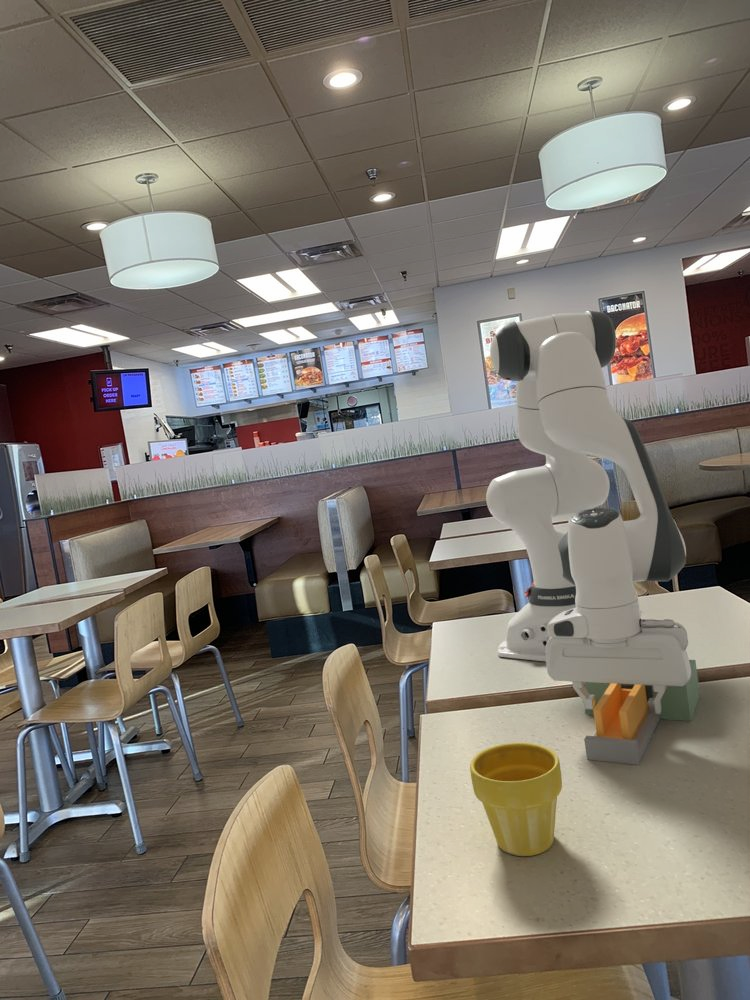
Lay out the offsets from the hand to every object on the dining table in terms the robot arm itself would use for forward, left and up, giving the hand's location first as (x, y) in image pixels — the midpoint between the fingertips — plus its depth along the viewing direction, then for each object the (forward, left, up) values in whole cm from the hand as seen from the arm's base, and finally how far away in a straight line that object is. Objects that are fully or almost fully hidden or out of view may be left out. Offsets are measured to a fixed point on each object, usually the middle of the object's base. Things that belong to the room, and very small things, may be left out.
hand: (621, 710), depth 103 cm
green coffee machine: (0, +4, -4) cm, 6 cm away
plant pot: (-5, -29, -4) cm, 30 cm away
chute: (0, 0, -3) cm, 3 cm away
